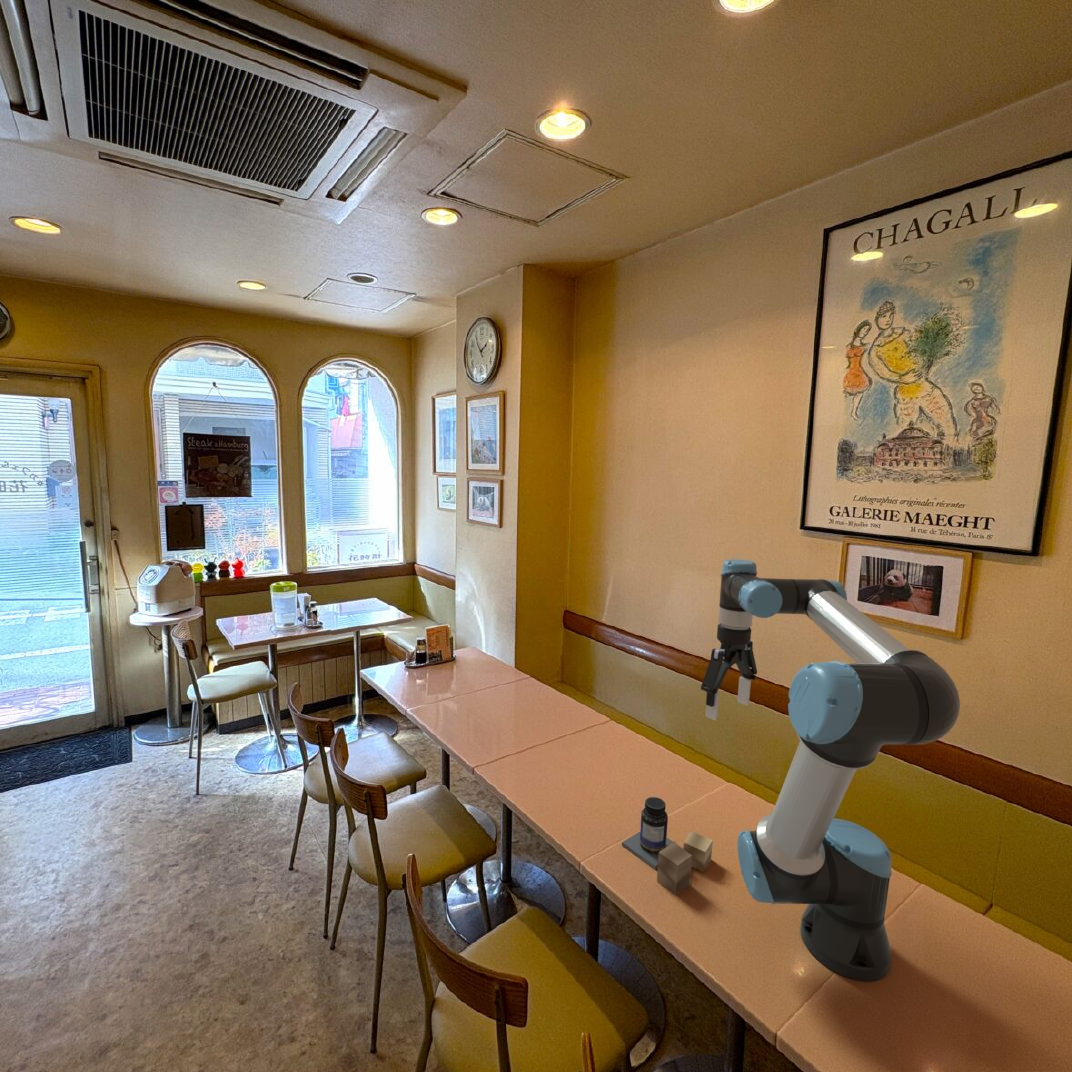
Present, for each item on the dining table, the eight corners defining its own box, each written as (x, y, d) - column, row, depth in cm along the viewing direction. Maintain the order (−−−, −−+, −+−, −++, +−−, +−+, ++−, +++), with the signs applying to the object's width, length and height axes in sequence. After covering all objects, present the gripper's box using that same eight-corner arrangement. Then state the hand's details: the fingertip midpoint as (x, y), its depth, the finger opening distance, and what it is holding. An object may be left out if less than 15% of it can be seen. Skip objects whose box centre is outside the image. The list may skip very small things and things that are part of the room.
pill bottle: (647, 833, 138) (650, 791, 136) (670, 845, 134) (673, 802, 132) (634, 846, 133) (637, 803, 132) (658, 858, 129) (661, 814, 128)
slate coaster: (682, 851, 133) (682, 848, 133) (655, 869, 127) (655, 866, 127) (649, 828, 141) (649, 825, 141) (621, 845, 135) (621, 842, 134)
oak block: (711, 859, 131) (712, 840, 130) (703, 872, 127) (705, 851, 126) (690, 850, 134) (691, 831, 133) (682, 862, 130) (683, 842, 129)
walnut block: (689, 884, 123) (692, 855, 122) (675, 895, 120) (677, 865, 119) (671, 871, 127) (673, 842, 126) (656, 881, 123) (658, 852, 122)
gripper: (748, 613, 144) (741, 692, 147) (689, 630, 128) (682, 718, 131) (776, 620, 138) (769, 703, 141) (718, 638, 123) (711, 731, 125)
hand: (727, 710), depth 136 cm, fingers open, 13 cm apart
